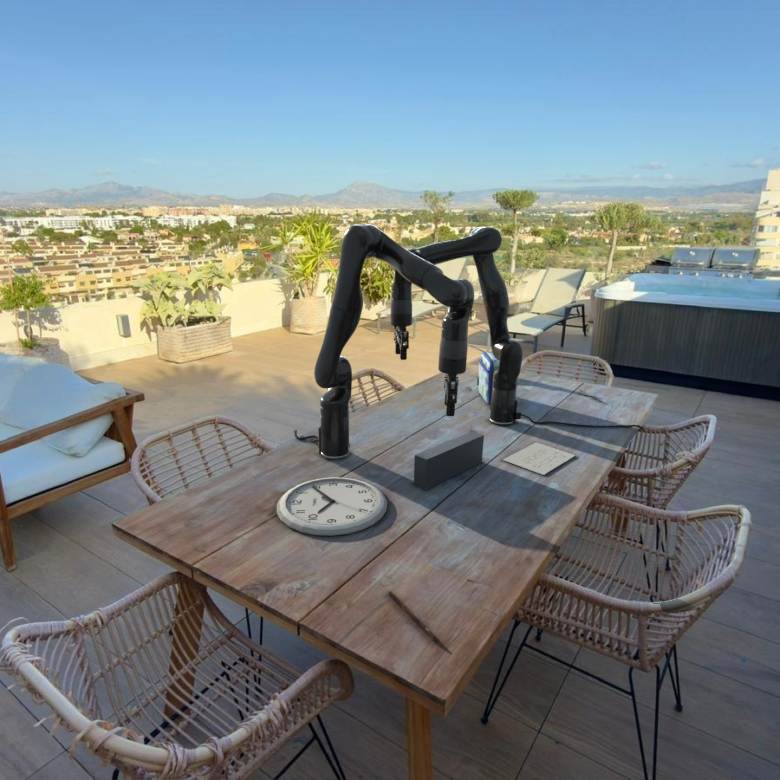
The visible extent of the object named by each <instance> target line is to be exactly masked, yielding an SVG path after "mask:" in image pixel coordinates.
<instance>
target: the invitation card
mask: <svg viewBox="0 0 780 780" xmlns="http://www.w3.org/2000/svg"><path fill="white" fill-rule="evenodd" d="M576 456H577V455H576V454H573V453H570V452H567V451H565V450H561V449H558V448H555V447H552V446H549V445H546V444H543V443H539V442H534V443H532V444H529V445H528V446H526V447H524V448H522V449H520V450H518V451H516V452H514V453H512V454H510V455H509V456H507V457H505V458H503V459H502V461H503V462H506V463H509V464H511V465H514V466H518V467H520V468H523V469H525V470H528V471H531V472H534V473H536V474H539V475H541V476H545V475H547V474H548V473H550V472H552V471H554V469H556V468H558V467H559V466H561V465H563V464H564V463H566V462H568V461H570V460H571V459H572V458H574V457H576Z"/></svg>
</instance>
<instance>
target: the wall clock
mask: <svg viewBox="0 0 780 780" xmlns="http://www.w3.org/2000/svg"><path fill="white" fill-rule="evenodd" d="M387 509H388V500H387V498H386V496H385V494H384V493H383V492H382V491H381V490H380V489H379V488H377V487H376V486H374V485H372V484H371V483H369V482H365V481H362V480H359V479H355V478H349V477H338V476H337V477H335V476H333V477H332V476H331V477H322V478H317V479H312V480H307V481H305V482H302V483H299V484H297V485H295V486H293V487H292V488H290V489H288V490H287V491H286V492H285V493H284V494H283V495H281V496H280V498H279V499H278V502H277V503H276V515H277V517H278V518H279V520H280V521H281V522H282V523H283V524H285V525H286V526H287V527H288V528H290V529H293V530H295V531H297V532H299V533H303V534H308V535H312V536H327V537H328V536H329V537H331V536H332V537H333V536H342V535H350V534H352V533H356V532H361V531H363V530H366V529H368V528H369V527H372V526H373V525H375V524H376V523H378V522H379V521H380V520H381V519H382V518H383V517H384V516H385V514H386V512H387Z"/></svg>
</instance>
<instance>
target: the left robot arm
mask: <svg viewBox="0 0 780 780" xmlns="http://www.w3.org/2000/svg"><path fill="white" fill-rule="evenodd" d="M408 250H409V249H406V248H405V247H404V246H402V245H400V244H399V243H398V242H396V241H395V240H393V238H391V237H390V236H389V235H388V234H386V233H385V232H384V231H383V230H381V229H380V228H379V227H377V226H375V225H374V224H369V223H368V224H367V223H366V224H353V225H351V226H349V227H347V229H346V230H345V231H344V234H343V236H342V241H341V248H340V258H339V264H338V265H339V266H338V272H337V277H336V278H337V279H336V283H335V288H334V292H333V297H332V300H331V304H330V308H329V309H330V310H329V315H328V319H327V324H326V328H325V332H324V337H323V341H322V343H321V347H320V350H319V353H318V356H317V359H316V361H315V365H314V371H313V377H314V381H315V383H316V384H317V386H318V387H319V388H321V389H324V390H325V389H327V390H326V391H325V392H324V393H323V394H322V396H321V397H320V399H319V407H320V409H319V410H320V426H319V427H318V436H317V435H307V436H302V437H300V436H298V430H297V429H294V430H293V433H294V438H296V440H300V441H304V440H308V439H312V443H315V442H318V454H319V455H321V457H322V458H324V459H326V460H332V461H339V460H344V459H347V458H348V457H349V456H350V449H351V443H350V400H351V397H352V387H353V370H352V365H351V363H350V361H349V360H348V358H347V357H345V356H343V355H342V352H343V350H344V348H345V346H346V345H347V343H348V342H349V341H350V339H351V338H352V336H353V335H354V333H355V332H356V330H357V329H358V326H359V324H360V320H361V317H362V313H363V308H364V296H363V291H362V286H361V276H362V273H363V272H362V271H363V268H364V264H365V261H366V259H372V258H373V259H377V260H379V261H383V262H385V263H386V264H388V265H389V264H390V265H392V266H393V267H394V268H395V269H396V270H397V271H398V272H399V273H400V274H401V275H402V276H403V277H404V278H405V279H406V280H408V281H409V282H411V283H412V285H414V286H416V287H418V288H419V289H420V290H421V289H422V290H423V291H425V292H426V293H428V295H430V297H432V298H433V299H435V300H436V301H437V302H438V303H440V304H441V305H443V306H445V307H447V308H448V309H447V313H446V315H445V316H444V317H443V318H442V322H441V331H440V342H439V350H438V351H439V352H438V365H437V366H438V368H437V369H438V371H439V372H440V373H443V374H445V375H443V389H444V406H446V407H445V408H446V410H445V415H446V417H454V416H455V412H456V411H455V410H456V404H457V403H458V394H459V385H460V379H459V376H458V375H461V374H464V373H465V372H466V371H467V363H468V362H467V361H468V348H469V347H468V335H469V321H470V319H471V315H472V311H473V307H474V303H475V289H474V285H473V284H472V283H471V281H470V280H468V279H465V278H458V279H452V278H450V277H448V276H447V275H445V274H444V271H443V270H442V269H441V268H440V267H439V266H437V265H433V264H431V263H430V262H428V261H426V260H424V259H422V258H420V257H418V256H417V255H415V254H413V253H411V252H410V251H408ZM390 265H389V266H390ZM299 437H300V438H299Z"/></svg>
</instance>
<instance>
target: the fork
mask: <svg viewBox="0 0 780 780" xmlns="http://www.w3.org/2000/svg"><path fill="white" fill-rule="evenodd" d="M579 392H580V394H581V395H582V396H588V397H590V398H591V399H593V400H595V401H598V402H601V403H602V402H603V401H602V400H601V399H599V398H598V397H596V396H592V395H590V394H587V392H586V391H585V390H584V388H583V387H582V388H579Z"/></svg>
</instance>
